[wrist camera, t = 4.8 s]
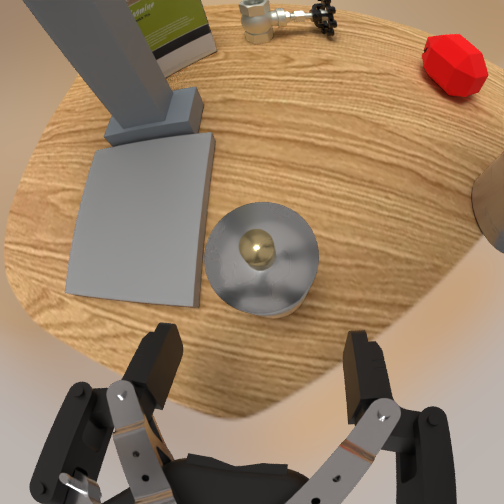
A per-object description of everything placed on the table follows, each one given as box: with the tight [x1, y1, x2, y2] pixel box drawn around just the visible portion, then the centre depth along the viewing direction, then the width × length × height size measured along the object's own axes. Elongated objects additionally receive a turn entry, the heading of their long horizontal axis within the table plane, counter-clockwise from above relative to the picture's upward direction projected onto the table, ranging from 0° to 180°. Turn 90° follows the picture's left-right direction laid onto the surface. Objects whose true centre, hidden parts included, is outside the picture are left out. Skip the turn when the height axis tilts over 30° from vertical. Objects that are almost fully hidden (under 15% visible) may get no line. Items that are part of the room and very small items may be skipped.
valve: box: [239, 0, 337, 44], centre depth 27 cm, size 7×7×12 cm
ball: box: [422, 34, 488, 97], centre depth 22 cm, size 8×8×8 cm
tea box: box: [125, 0, 217, 78], centre depth 26 cm, size 15×10×15 cm, turn 32°
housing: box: [204, 202, 319, 319], centre depth 17 cm, size 5×5×12 cm
